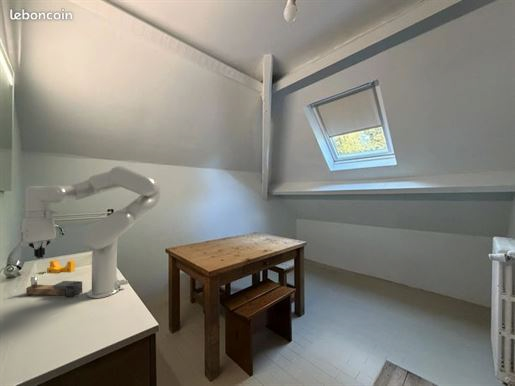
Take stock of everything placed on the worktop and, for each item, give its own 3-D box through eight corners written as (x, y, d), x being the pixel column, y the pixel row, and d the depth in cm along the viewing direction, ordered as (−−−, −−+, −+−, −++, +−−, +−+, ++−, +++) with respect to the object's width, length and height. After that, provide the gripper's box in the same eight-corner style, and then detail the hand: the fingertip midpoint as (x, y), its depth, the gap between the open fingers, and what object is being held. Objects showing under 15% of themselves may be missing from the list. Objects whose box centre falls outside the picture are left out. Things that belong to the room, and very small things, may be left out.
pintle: (37, 284, 101) (37, 276, 101) (36, 286, 99) (36, 277, 99) (31, 286, 100) (31, 277, 100) (30, 287, 98) (30, 278, 98)
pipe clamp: (47, 273, 123) (47, 262, 123) (54, 270, 128) (54, 259, 128) (68, 273, 123) (68, 262, 123) (74, 271, 128) (74, 260, 128)
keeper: (53, 296, 96) (53, 285, 96) (64, 291, 101) (64, 280, 101) (72, 297, 96) (72, 286, 96) (82, 292, 101) (82, 281, 101)
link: (22, 294, 97) (22, 289, 97) (34, 289, 102) (34, 284, 102) (63, 295, 97) (63, 289, 97) (73, 290, 102) (73, 285, 102)
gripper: (58, 212, 102) (59, 252, 102) (11, 216, 89) (11, 260, 89) (64, 213, 97) (65, 254, 98) (14, 217, 85) (15, 264, 85)
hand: (39, 257), depth 94 cm, fingers closed
